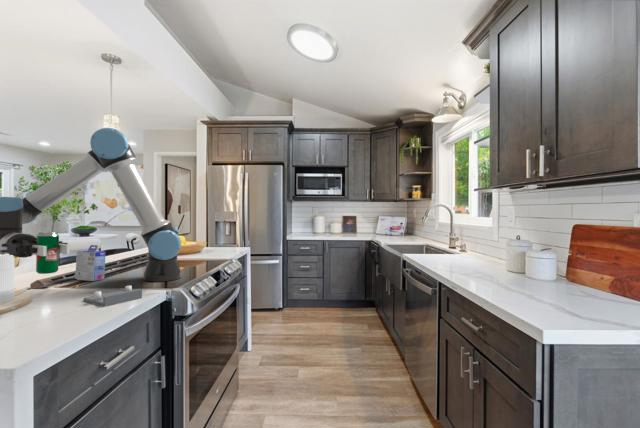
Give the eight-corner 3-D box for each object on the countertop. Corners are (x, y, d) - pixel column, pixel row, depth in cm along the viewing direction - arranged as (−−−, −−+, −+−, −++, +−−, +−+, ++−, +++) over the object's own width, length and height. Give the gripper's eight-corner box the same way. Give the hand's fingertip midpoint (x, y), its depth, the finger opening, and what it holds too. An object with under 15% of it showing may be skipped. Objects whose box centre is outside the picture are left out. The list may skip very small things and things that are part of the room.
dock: (120, 293, 115) (120, 283, 115) (141, 298, 110) (142, 287, 110) (83, 300, 105) (83, 290, 105) (104, 306, 99) (105, 295, 99)
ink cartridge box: (105, 279, 138) (106, 245, 138) (94, 281, 133) (95, 246, 133) (86, 277, 140) (87, 244, 140) (74, 280, 135) (75, 245, 135)
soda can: (48, 274, 93) (49, 233, 93) (31, 273, 93) (32, 232, 93) (62, 271, 98) (63, 232, 98) (46, 270, 98) (47, 231, 98)
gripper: (53, 253, 112) (90, 259, 101) (-20, 259, 96) (16, 267, 85) (53, 232, 112) (91, 235, 101) (-19, 234, 96) (16, 239, 85)
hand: (56, 250), depth 93 cm, fingers closed on soda can, 5 cm apart
